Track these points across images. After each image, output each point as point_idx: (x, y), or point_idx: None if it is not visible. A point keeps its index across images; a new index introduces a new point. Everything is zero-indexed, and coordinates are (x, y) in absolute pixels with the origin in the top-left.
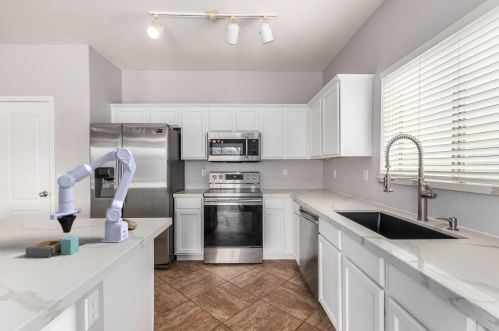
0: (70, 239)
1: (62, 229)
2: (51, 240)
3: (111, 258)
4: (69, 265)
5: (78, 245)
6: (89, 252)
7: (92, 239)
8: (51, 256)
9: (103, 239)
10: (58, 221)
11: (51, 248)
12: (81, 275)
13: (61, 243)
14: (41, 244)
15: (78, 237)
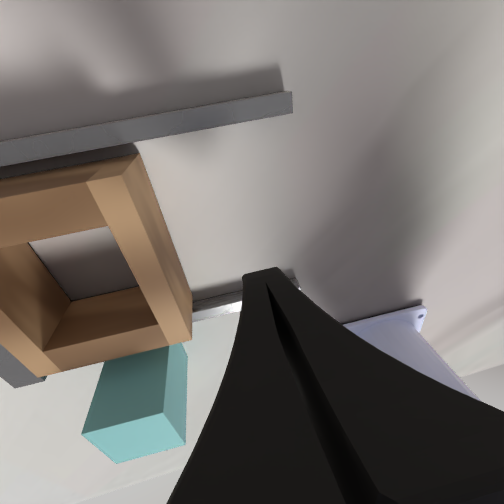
0: (119, 459)
1: (242, 299)
2: (129, 215)
3: (178, 463)
4: (62, 444)
5: (185, 387)
6: (195, 394)
7: (389, 249)
8: None
9: (363, 324)
10: (199, 437)
11: (30, 381)
12: (47, 499)
13: (92, 403)
14: (1, 246)
15: (183, 441)
